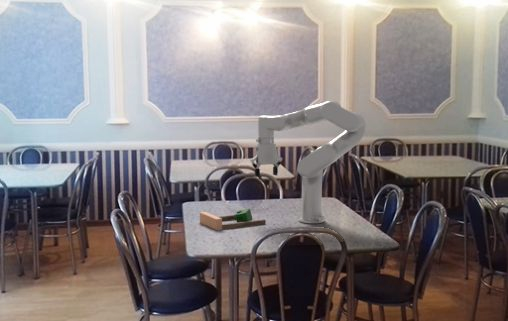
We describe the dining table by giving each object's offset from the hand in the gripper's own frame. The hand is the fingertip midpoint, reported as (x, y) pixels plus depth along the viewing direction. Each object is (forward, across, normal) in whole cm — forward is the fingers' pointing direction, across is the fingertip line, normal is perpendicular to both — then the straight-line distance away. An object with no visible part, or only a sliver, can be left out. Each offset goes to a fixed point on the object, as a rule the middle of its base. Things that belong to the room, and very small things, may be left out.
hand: (266, 175), depth 299 cm
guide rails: (+21, -19, -4) cm, 28 cm away
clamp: (+21, -15, -3) cm, 26 cm away
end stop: (+21, -32, -4) cm, 38 cm away
